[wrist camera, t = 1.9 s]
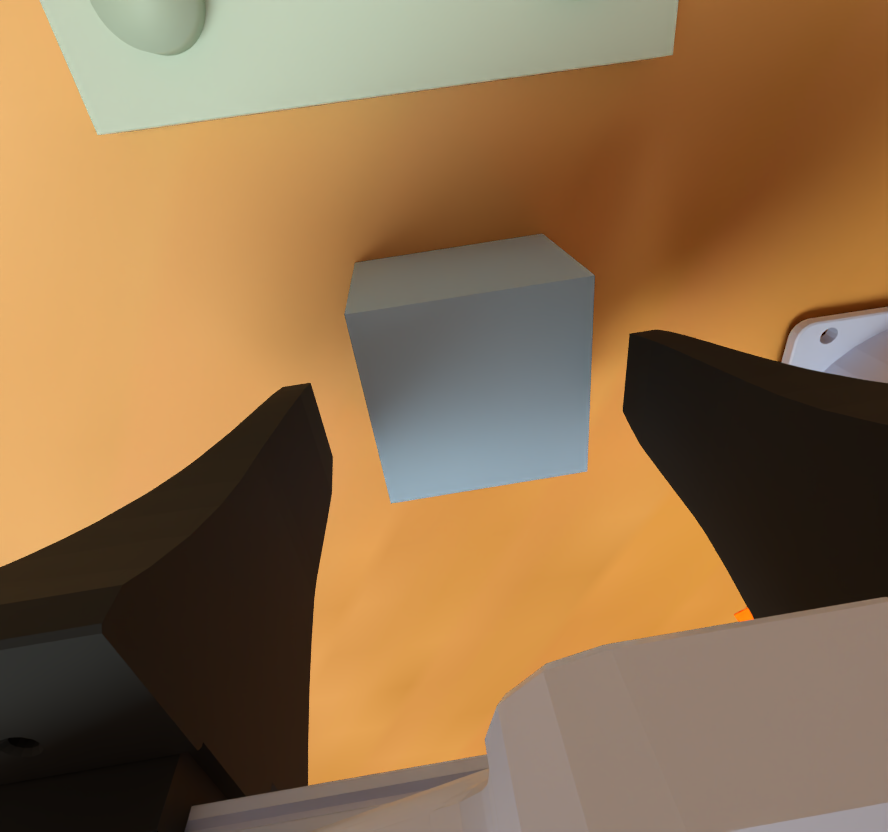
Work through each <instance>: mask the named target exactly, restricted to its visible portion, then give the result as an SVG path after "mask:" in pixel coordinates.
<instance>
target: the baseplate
mask: <svg viewBox="0 0 888 832" xmlns="http://www.w3.org/2000/svg"><path fill="white" fill-rule="evenodd" d="M678 1H679V0H40V2H41V5H42V7H43V9H44V11H45V14H46V16H47V18H48V21H49V23H50V25H51V28H52V30H53V32H54V35H55V37H56V39H57V42H58V44H59V46H60V49H61V51H62V53H63V56H64V58H65V60H66V62H67V65H68V67H69V69H70V72H71V74H72V76H73V79H74V81H75V83H76V86H77V88H78V90H79V93H80V95H81V97H82V100H83V102H84V104H85V106H86V109H87V111H88V113H89V116H90V118H91V120H92V123H93V125H94V127H95V130H96V132H97V134H98V135H102V134H114V133H123V132H130V131H137V130H145V129H152V128H159V127H166V126H173V125H181V124H188V123H195V122H202V121H209V120H216V119H224V118H231V117H238V116H245V115H252V114H260V113H267V112H274V111H281V110H288V109H296V108H303V107H310V106H317V105H324V104H331V103H339V102H346V101H353V100H360V99H367V98H375V97H382V96H389V95H396V94H403V93H411V92H418V91H425V90H432V89H439V88H446V87H454V86H461V85H468V84H475V83H482V82H490V81H497V80H504V79H511V78H518V77H525V76H533V75H540V74H547V73H554V72H561V71H569V70H576V69H583V68H590V67H597V66H605V65H612V64H619V63H626V62H633V61H640V60H648V59H654V58H659V57H664V56H670V55H673V47H674V38H675V29H676V19H677V10H678Z"/></svg>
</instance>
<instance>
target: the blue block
mask: <svg viewBox="0 0 888 832" xmlns="http://www.w3.org/2000/svg"><path fill="white" fill-rule="evenodd" d="M594 283H595V275H594V274H592V273H591V272H590V271H589V270H587V269H586V268H585V267H584V266H582V265H581V264H580V263H579V262H577V261H576V260H575V259H574V258H572V257H571V256H570V255H569V254H567V253H566V252H565V251H564V250H562V249H561V248H560V247H559V246H557V245H556V244H555V243H554V242H552V241H551V240H550V239H549V238H547V237H546V236H545V235H544V234H536V235H530V236H523V237H517V238H511V239H504V240H498V241H491V242H485V243H478V244H472V245H465V246H459V247H452V248H446V249H440V250H433V251H427V252H420V253H414V254H407V255H401V256H394V257H388V258H382V259H375V260H369V261H362V262H356V263H355V265H354V270H353V275H352V280H351V285H350V289H349V294H348V299H347V304H346V309H345V314H344V315H345V319H346V323H347V327H348V331H349V335H350V339H351V343H352V347H353V351H354V356H355V360H356V364H357V368H358V372H359V376H360V380H361V384H362V388H363V392H364V396H365V400H366V404H367V408H368V412H369V416H370V420H371V424H372V428H373V432H374V436H375V441H376V445H377V449H378V453H379V457H380V461H381V465H382V469H383V473H384V477H385V481H386V485H387V489H388V493H389V497H390V501H391V503H397V502H403V501H409V500H415V499H421V498H427V497H433V496H439V495H446V494H452V493H458V492H464V491H470V490H476V489H482V488H488V487H494V486H500V485H507V484H513V483H519V482H525V481H531V480H537V479H543V478H549V477H555V476H561V475H568V474H574V473H580V472H586V471H587V462H588V437H589V411H590V386H591V360H592V335H593V309H594Z"/></svg>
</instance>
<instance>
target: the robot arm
mask: <svg viewBox="0 0 888 832" xmlns="http://www.w3.org/2000/svg"><path fill="white" fill-rule="evenodd" d="M827 329H828V330H827ZM826 330H827V332H826V333H825V334H824V335H823V336H822V337H821V335H822V333H823V332H824V331H826ZM820 337H821V338H820ZM623 413H624V415H625V417H626V419H627V421H628V423H629V425H630V427H631V429H632V430H633V432H634V434H635V436H636V438H637V440H638V441H639V443H640V445H641V446H642V448H643V449H644V450H645V452H646V453H647V455H648V456H649V457H650V459H651V460H652V461H653V463H654V464H655V465H656V467H657V468H658V469H659V471H660V472H661V473H662V475H663V476H664V477H665V479H666V480H667V481H668V483H669V484H670V485H671V487H672V488H673V489H674V490H675V492H676V493H677V494H678V496H679V497H680V498H681V500H682V501H683V502H684V504H685V505H686V506H687V508H688V509H689V510H690V512H691V513H692V514H693V516H694V517H695V518H696V520H697V521H698V523H699V524H700V526H701V527H702V529H703V530H704V532H705V533H706V535H707V536H708V538H709V540H710V542H711V543H712V545H713V547H714V548H715V550H716V552H717V553H718V555H719V557H720V559H721V560H722V562H723V564H724V565H725V567H726V569H727V570H728V572H729V574H730V576H731V578H732V580H733V581H734V583H735V585H736V587H737V589H738V590H739V592H740V594H741V596H742V598H743V600H744V601H745V603H746V605H747V607H748V609H749V611H750V612H751V614H752V616H753V618H754V619H752V620H746V621H741V622H735V623H729V624H723V625H717V626H711V627H705V628H700V629H694V630H688V631H682V632H676V633H670V634H664V635H658V636H653V637H647V638H641V639H635V640H629V641H623V642H617V643H611V644H606V645H602V646H599V647H596V648H593V649H590V650H587V651H584V652H581V653H577V654H574V655H571V656H568V657H565V658H562V659H559V660H556V661H553V662H550V663H547V664H545V665H544V666H542V667H541V668H540V669H538V670H537V671H536V672H534V673H533V674H532V675H530V676H529V677H528V678H526V679H525V680H524V681H522V682H521V683H520V684H518V685H517V686H516V687H514V688H513V689H512V690H510V691H509V692H508V693H506V694H505V696H504V697H503V698H502V700H501V701H500V702H499V704H498V705H497V707H496V710H495V713H494V716H493V718H492V721H491V724H490V727H489V729H488V732H487V735H486V738H485V744H486V751H487V754H486V755H481V756H475V757H469V758H464V759H458V760H452V761H446V762H441V763H435V764H429V765H424V766H418V767H412V768H406V769H401V770H395V771H389V772H384V773H378V774H372V775H367V776H361V777H355V778H349V779H344V780H338V781H332V782H327V783H321V784H315V785H310V786H308V725H309V686H310V663H311V641H312V625H313V609H314V596H315V588H316V580H317V574H318V568H319V563H320V557H321V552H322V546H323V541H324V535H325V530H326V524H327V518H328V513H329V507H330V501H331V495H332V467H333V456H332V453H331V450H330V446H329V443H328V440H327V436H326V433H325V430H324V426H323V423H322V420H321V416H320V413H319V410H318V406H317V403H316V400H315V396H314V393H313V390H312V386H311V383H306V384H300V385H293V386H287V387H282V388H281V389H279V390H278V391H277V392H275V393H274V394H273V395H272V396H271V397H269V398H268V399H267V400H266V401H265V402H264V403H263V404H262V405H260V406H259V407H258V408H257V409H256V410H255V411H254V412H253V413H251V414H250V415H249V416H248V417H247V418H246V419H245V420H244V421H242V422H241V423H240V424H239V425H238V426H237V427H236V428H235V429H233V430H232V431H231V432H230V433H229V434H228V435H226V436H225V437H224V438H223V439H221V440H220V441H219V442H218V443H216V444H215V445H214V446H213V447H212V448H210V449H209V450H208V451H207V452H205V453H204V454H203V455H202V456H200V457H199V458H198V459H197V460H195V461H194V462H193V463H191V464H190V465H189V466H187V467H186V468H184V469H183V470H182V471H180V472H179V473H177V474H176V475H174V476H173V477H171V478H170V479H168V480H167V481H165V482H164V483H162V484H161V485H159V486H158V487H156V488H155V489H153V490H152V491H150V492H148V493H147V494H145V495H143V496H142V497H140V498H138V499H136V500H135V501H133V502H131V503H129V504H128V505H126V506H124V507H122V508H121V509H119V510H117V511H115V512H114V513H112V514H110V515H108V516H107V517H105V518H103V519H101V520H100V521H98V522H96V523H94V524H92V525H90V526H88V527H86V528H84V529H82V530H80V531H78V532H76V533H74V534H72V535H70V536H68V537H66V538H64V539H62V540H60V541H58V542H56V543H54V544H52V545H49V546H47V547H45V548H43V549H41V550H39V551H37V552H35V553H32V554H30V555H28V556H26V557H23V558H21V559H19V560H17V561H14V562H12V563H10V564H7V565H5V566H2V567H0V832H888V307H882V308H875V309H869V310H862V311H855V312H849V313H842V314H836V315H829V316H822V317H816V318H809V319H806V320H803V321H801V322H800V323H798V324H797V325H796V326H795V327H794V328H793V329H792V330H791V332H790V334H789V336H788V340H787V343H786V347H785V351H784V354H783V358H782V361H781V362H777V361H773V360H769V359H765V358H762V357H758V356H754V355H751V354H747V353H744V352H740V351H737V350H733V349H730V348H727V347H723V346H720V345H716V344H713V343H710V342H706V341H703V340H699V339H696V338H693V337H689V336H685V335H681V334H678V333H673V332H669V331H663V330H651V331H644V332H638V333H631V334H630V337H629V348H628V359H627V370H626V381H625V391H624V402H623Z"/></svg>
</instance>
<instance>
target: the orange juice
mask: <svg viewBox="0 0 888 832" xmlns="http://www.w3.org/2000/svg"><path fill="white" fill-rule="evenodd" d="M735 617H736V618H737V620H738V621H739V622H741V621H746V620H752V619H754V618H753V616H752V614H751V612H750V611H749V609H748V608H747V609H745V610H743V611H741V612H739V613H737V614H735Z"/></svg>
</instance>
